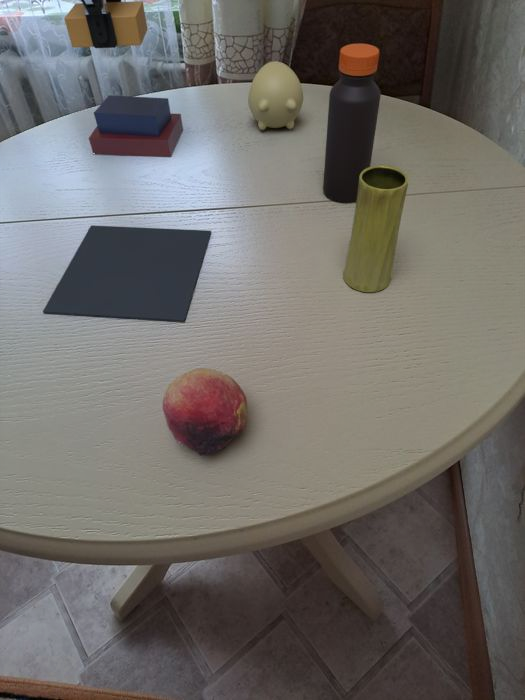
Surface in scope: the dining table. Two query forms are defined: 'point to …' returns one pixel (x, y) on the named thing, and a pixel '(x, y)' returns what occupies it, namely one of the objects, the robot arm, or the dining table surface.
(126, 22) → the top book
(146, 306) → the desk mat
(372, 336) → the dining table surface
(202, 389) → the fruit
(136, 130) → the middle book
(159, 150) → the bottom book
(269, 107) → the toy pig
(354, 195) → the bottle
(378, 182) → the vase
